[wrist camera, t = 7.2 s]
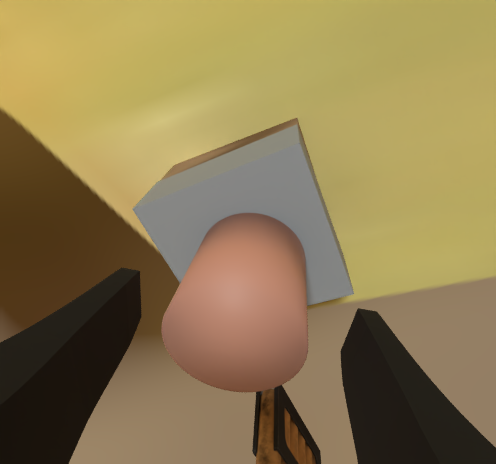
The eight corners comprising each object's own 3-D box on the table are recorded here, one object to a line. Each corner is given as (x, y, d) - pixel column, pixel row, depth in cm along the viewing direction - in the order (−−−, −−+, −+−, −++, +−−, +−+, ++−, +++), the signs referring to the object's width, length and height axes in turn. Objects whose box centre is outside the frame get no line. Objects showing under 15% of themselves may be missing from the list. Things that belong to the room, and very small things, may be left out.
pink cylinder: (284, 198, 12) (278, 266, 8) (318, 290, 14) (326, 381, 10) (182, 230, 14) (135, 302, 10) (225, 310, 15) (199, 399, 11)
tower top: (296, 124, 14) (299, 142, 11) (343, 255, 17) (354, 294, 14) (157, 181, 16) (132, 208, 13) (220, 290, 19) (210, 330, 16)
